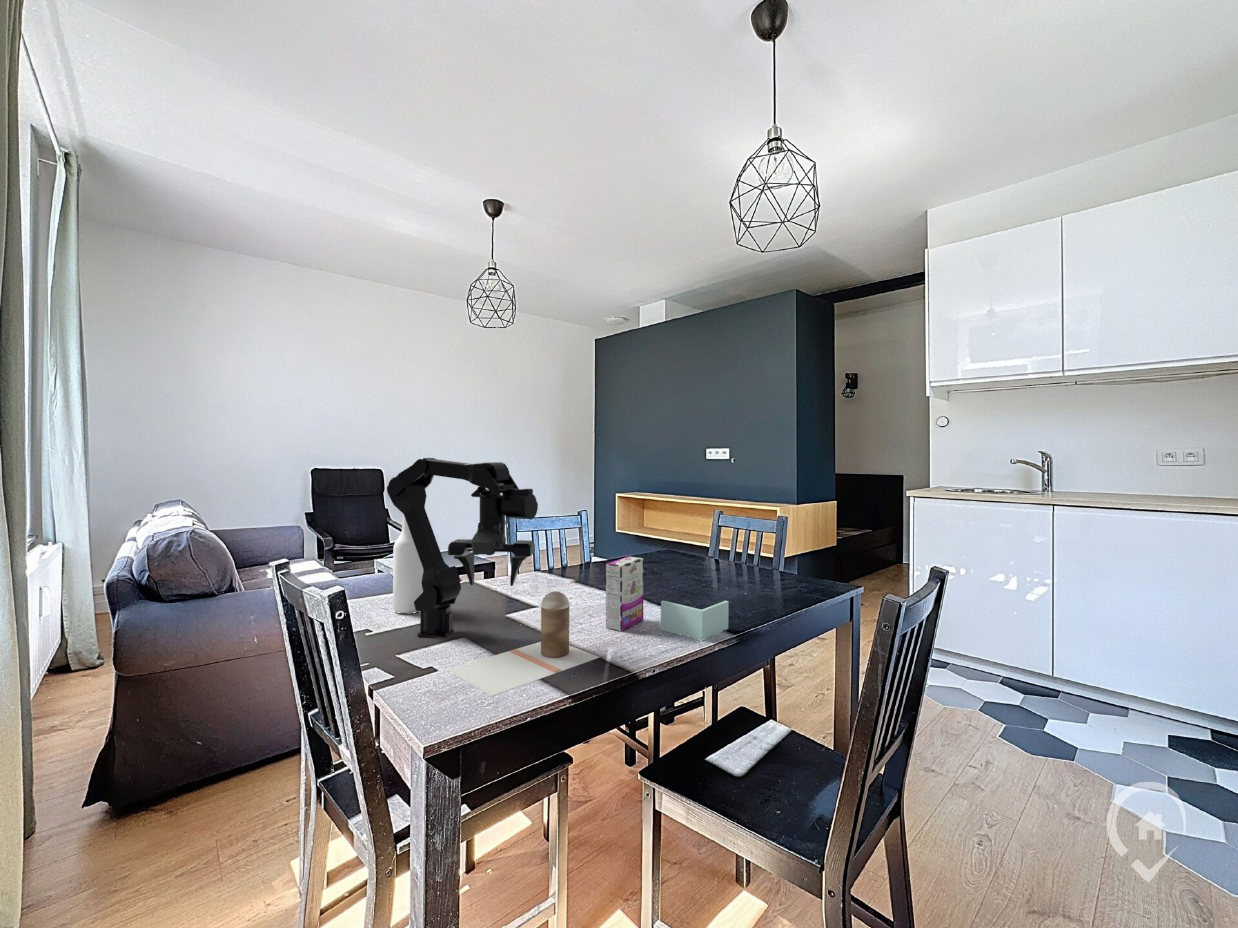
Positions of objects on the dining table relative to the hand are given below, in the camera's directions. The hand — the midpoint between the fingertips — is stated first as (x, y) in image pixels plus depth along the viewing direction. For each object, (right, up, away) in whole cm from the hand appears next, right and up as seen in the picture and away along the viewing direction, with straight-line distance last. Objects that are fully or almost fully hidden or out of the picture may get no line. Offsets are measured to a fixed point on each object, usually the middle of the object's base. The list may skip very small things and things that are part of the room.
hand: (491, 585), depth 124 cm
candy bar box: (+31, -13, +14) cm, 36 cm away
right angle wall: (+48, -14, +11) cm, 51 cm away
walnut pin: (+15, -13, -8) cm, 22 cm away
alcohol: (-28, -13, +24) cm, 39 cm away
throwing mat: (+10, -13, -14) cm, 22 cm away
